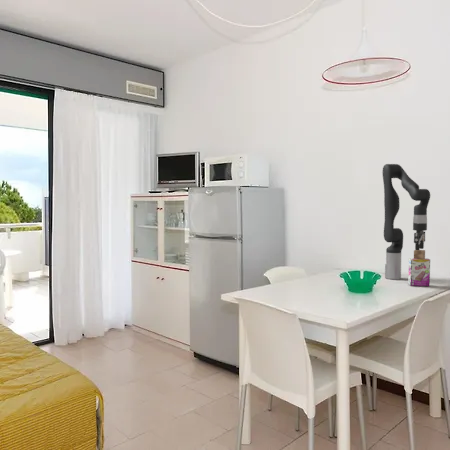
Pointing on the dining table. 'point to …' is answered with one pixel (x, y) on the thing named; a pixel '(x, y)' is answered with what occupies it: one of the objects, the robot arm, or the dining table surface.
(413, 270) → the candy bar box
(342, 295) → the dining table surface
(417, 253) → the walnut cube
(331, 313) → the dining table surface
